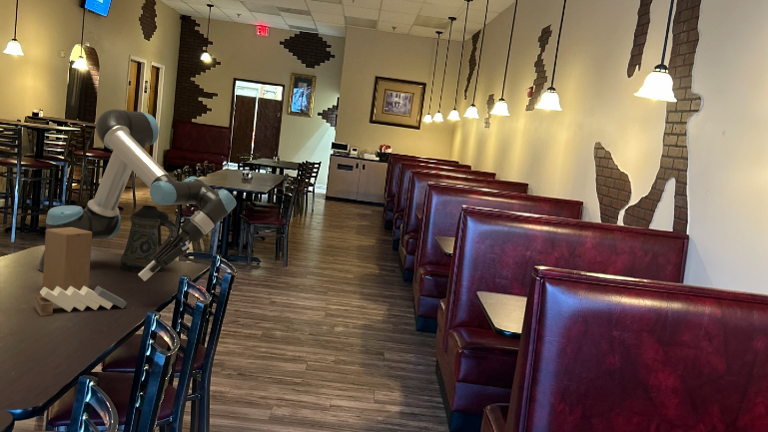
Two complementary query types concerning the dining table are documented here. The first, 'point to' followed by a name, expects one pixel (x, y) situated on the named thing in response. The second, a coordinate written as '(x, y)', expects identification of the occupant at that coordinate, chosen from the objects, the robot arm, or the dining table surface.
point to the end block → (43, 306)
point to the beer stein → (145, 238)
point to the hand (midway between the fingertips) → (141, 277)
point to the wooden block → (67, 258)
